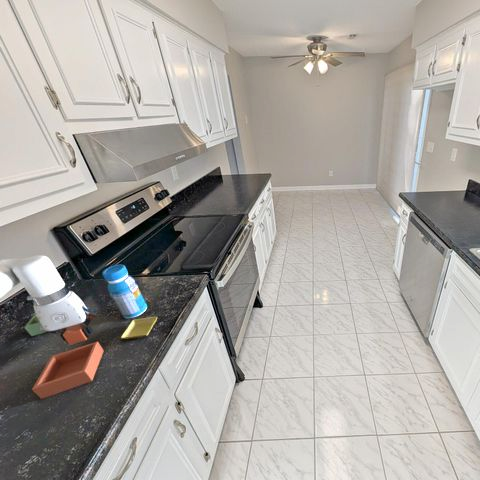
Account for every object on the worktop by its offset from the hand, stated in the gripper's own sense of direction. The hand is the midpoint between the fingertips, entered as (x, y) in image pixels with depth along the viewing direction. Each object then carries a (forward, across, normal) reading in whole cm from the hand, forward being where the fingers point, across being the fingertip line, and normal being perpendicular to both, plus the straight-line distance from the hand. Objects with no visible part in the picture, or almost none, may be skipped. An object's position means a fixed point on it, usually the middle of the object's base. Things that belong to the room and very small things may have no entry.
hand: (79, 337), depth 85 cm
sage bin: (+3, -13, +19) cm, 23 cm away
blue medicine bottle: (+3, +14, +10) cm, 17 cm away
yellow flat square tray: (+3, +18, -3) cm, 18 cm away
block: (0, 0, 0) cm, 0 cm away
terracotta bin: (+3, +2, -13) cm, 13 cm away
